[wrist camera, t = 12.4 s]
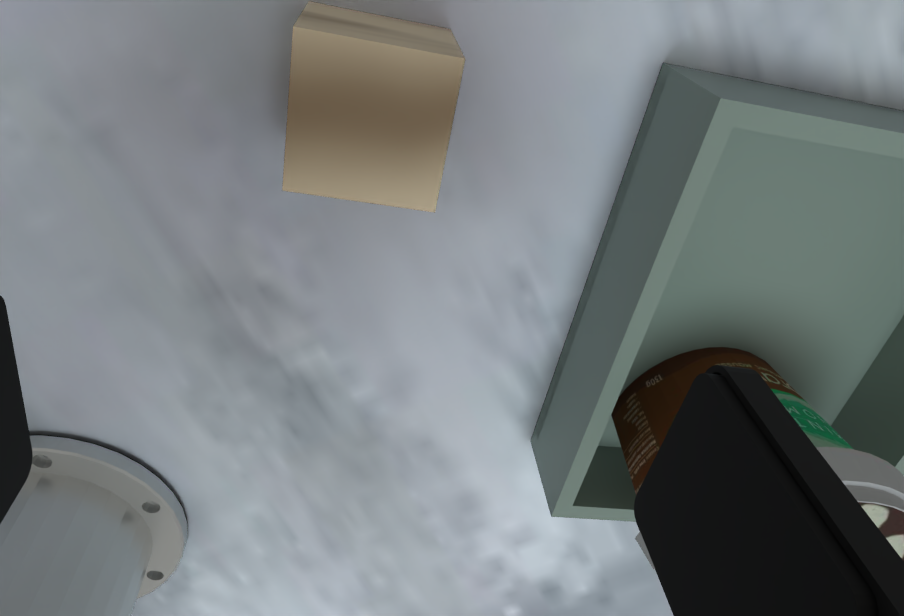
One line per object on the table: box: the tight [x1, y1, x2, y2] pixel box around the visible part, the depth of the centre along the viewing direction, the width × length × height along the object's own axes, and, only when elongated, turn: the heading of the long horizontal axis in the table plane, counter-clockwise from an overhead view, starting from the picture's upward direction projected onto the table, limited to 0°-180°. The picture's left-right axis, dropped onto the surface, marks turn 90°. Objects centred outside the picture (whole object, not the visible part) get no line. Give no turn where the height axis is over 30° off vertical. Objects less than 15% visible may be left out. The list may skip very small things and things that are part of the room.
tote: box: [531, 63, 904, 522], centre depth 29 cm, size 20×17×5 cm
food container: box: [611, 347, 904, 569], centre depth 29 cm, size 12×6×10 cm, turn 74°
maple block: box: [282, 1, 465, 212], centre depth 22 cm, size 5×5×5 cm
